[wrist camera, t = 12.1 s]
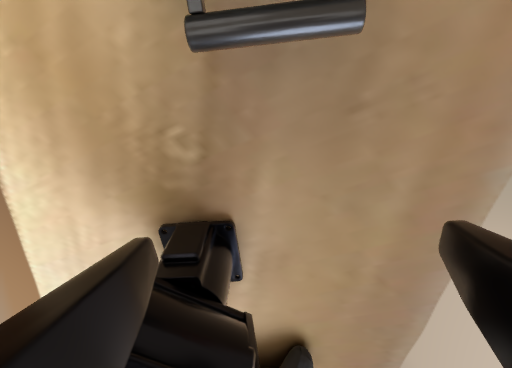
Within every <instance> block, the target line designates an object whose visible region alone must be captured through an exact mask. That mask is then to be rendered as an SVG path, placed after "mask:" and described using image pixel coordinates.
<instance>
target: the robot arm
mask: <svg viewBox="0 0 512 368" xmlns="http://www.w3.org/2000/svg"><path fill="white" fill-rule="evenodd" d="M226 226H230V227H231V228H227V227H226ZM163 229H164V230H166V231H167V232H166V231H164V230H163ZM158 231H159V235H160V238H161V241H162V244H163V247H164V251H163V253H162V255H161V260H160V262H159V261H158V257H157V254H156V251H155V248H154V245H153V242H152V240H151V239H150V238H148V237H143V238H135V239H133V240H131V241H130V242H128V243H127V244H125V245H124V246H122V247H121V248H119V249H117V250H116V251H114V252H113V253H111V254H110V255H108V256H106V257H105V258H103V259H102V260H100V261H99V262H97V263H95V264H94V265H92V266H91V267H89V268H88V269H86V270H84V271H83V272H81V273H80V274H78V275H77V276H75V277H74V278H72V279H70V280H69V281H67V282H66V283H64V284H63V285H61V286H59V287H58V288H56V289H55V290H53V291H52V292H50V293H48V294H47V295H45V296H44V297H42V298H41V299H39V300H37V301H36V302H34V303H33V304H31V305H30V306H28V307H27V308H25V309H23V310H22V311H20V312H19V313H17V314H16V315H14V316H12V317H11V318H9V319H8V320H6V321H5V322H3V323H1V324H0V368H259V356H258V350H257V344H256V338H255V332H254V326H253V320H252V315H251V314H249V313H247V312H244V313H243V312H241V311H238V310H236V309H233V308H231V307H228V306H226V304H227V299H228V293H229V287H230V282H233V281H241V280H242V278H243V271H242V265H241V259H240V253H239V247H238V241H237V235H236V229H235V225H234V223H233V222H232V221H213V222H207V221H202V222H185V223H178V224H164V225H162V226H161V227H160V228H159V230H158ZM439 253H440V256H441V258H442V260H443V262H444V264H445V266H446V268H447V270H448V272H449V274H450V276H451V278H452V280H453V282H454V284H455V286H456V288H457V290H458V292H459V295H460V297H461V299H462V300H463V302H464V304H465V306H466V308H467V310H468V311H469V313H470V315H471V316H472V318H473V320H474V321H475V323H476V324H477V326H478V328H479V329H480V331H481V332H482V334H483V336H484V337H485V339H486V340H487V342H488V344H489V345H490V347H491V348H492V350H493V352H494V353H495V355H496V356H497V358H498V360H499V361H500V363H501V364H502V366H503V368H512V240H511V239H508V238H506V237H503V236H501V235H499V234H496V233H494V232H491V231H489V230H486V229H484V228H482V227H479V226H477V225H474V224H472V223H469V222H467V221H463V220H458V221H447V222H446V223H445V224H444V226H443V230H442V234H441V238H440V242H439ZM236 275H238V276H236Z"/></svg>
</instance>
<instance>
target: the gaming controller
mask: <svg viewBox="0 0 512 368" xmlns="http://www.w3.org/2000/svg"><path fill="white" fill-rule="evenodd" d="M280 368H313V361H312V357H311V355H310V353H309V352H308V350H307V349H306V348H305V347H303V346H298V345H296V346H295V347H293V348H292V349H291V350H290V351H289V353H288V354H287V356H286V357H285V359H284V361H283V363H282V365H281V367H280Z"/></svg>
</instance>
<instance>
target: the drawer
mask: <svg viewBox="0 0 512 368" xmlns="http://www.w3.org/2000/svg"><path fill="white" fill-rule="evenodd" d="M187 5H188V11H189V13H190V14H191V15H187V16H185V20H184V27H185V34H186V39H187V42H188V45H189V47H190V49H191V51H192V52H194V53H198V52H206V51H215V50H223V49H232V48H241V47H249V46H258V45H266V44H275V43H284V42H292V41H301V40H309V39H318V38H327V37H335V36H344V35H352V34H359V33H360V32H361V31H362V29H363V26H364V23H365V17H366V0H299V1H292V2H284V3H276V4H268V5H261V6H253V7H245V8H238V9H230V10H222V11H214V12H207V13H206V9H205V2H204V0H187Z"/></svg>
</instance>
